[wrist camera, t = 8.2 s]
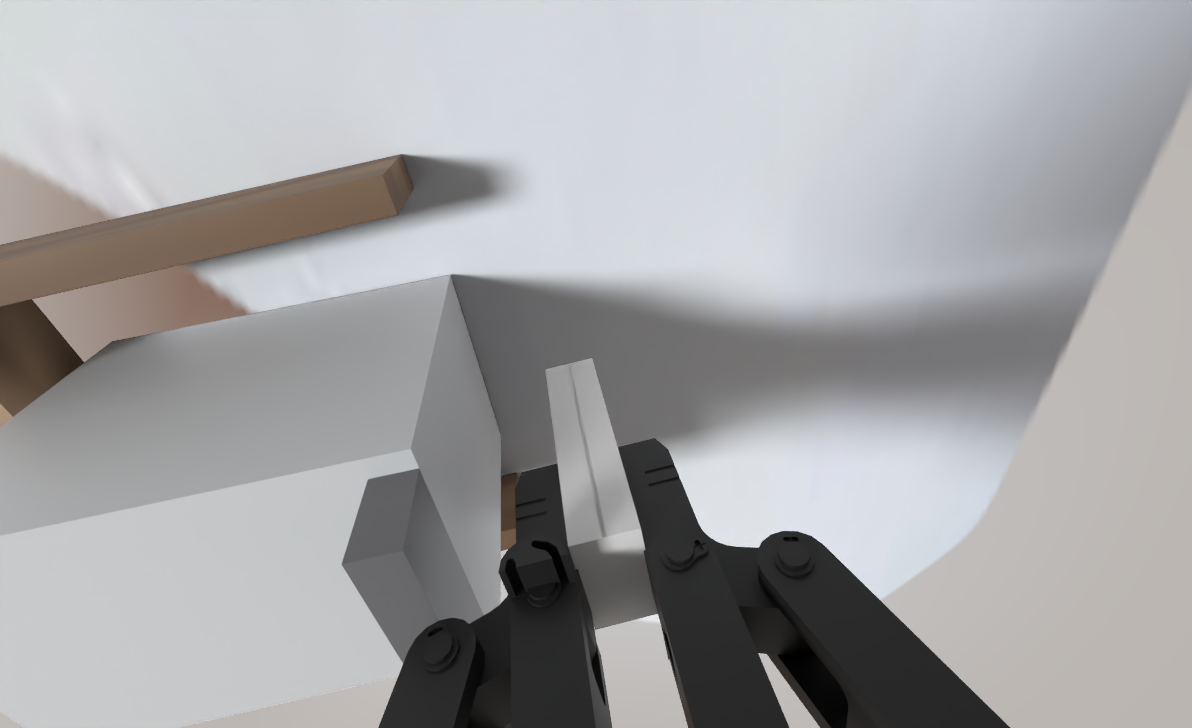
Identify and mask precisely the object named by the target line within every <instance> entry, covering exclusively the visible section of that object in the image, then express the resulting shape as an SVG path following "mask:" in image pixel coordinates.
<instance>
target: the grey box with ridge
mask: <svg viewBox="0 0 1192 728" xmlns="http://www.w3.org/2000/svg"><path fill="white" fill-rule="evenodd" d="M500 556H501V434H500V431H499V428H498V425H497V422H496V418H495V415H494V412H493V409H492V406H491V402H490V399H489V396H488V393H487V390H486V387H485V383H484V380H483V377H482V374H481V371H480V368H479V364H478V361H477V358H476V355H475V352H474V348H473V345H472V342H471V339H470V336H469V333H468V329H467V326H466V323H465V320H464V317H463V314H462V310H461V307H460V304H459V301H458V298H457V294H456V291H455V288H454V285H453V282H452V279H451V275H448V276H442V277H437V278H432V279H427V280H422V281H417V282H412V283H407V284H402V285H397V286H392V287H387V288H381V289H376V290H371V291H366V292H361V293H356V294H351V295H346V296H341V297H336V298H331V299H326V300H321V301H315V302H310V303H305V304H300V305H295V306H290V307H285V308H280V309H275V310H270V311H265V312H260V313H254V314H249V315H245V316H239V317H234V318H229V319H224V320H219V321H214V322H209V323H204V324H199V325H194V326H189V327H183V328H178V329H173V330H168V331H163V332H158V333H153V334H148V335H143V336H138V337H133V338H128V339H122V340H117V341H112V342H111V343H110V344H108V345H107V346H106V347H104V348H103V349H102V350H100V351H99V352H98V353H97V354H95V355H94V356H92V357H91V358H90V359H89V360H87V361H86V362H85V363H83V364H82V365H81V366H79V367H78V368H77V369H75V370H74V371H73V372H71V373H70V374H69V375H67V376H66V377H65V378H64V379H62V380H61V381H60V382H58V383H57V384H56V385H54V386H53V387H52V388H50V389H49V390H48V391H46V392H45V393H44V394H43V395H41V396H40V397H39V398H37V399H36V400H35V401H33V402H32V403H31V404H29V405H28V406H27V407H25V408H24V409H23V410H22V411H20V412H19V413H18V414H16V415H15V416H14V417H12V418H11V419H10V420H8V421H7V422H6V423H4V424H3V425H2V426H1V427H0V712H1V713H2V714H4V715H5V716H7V717H8V718H10V719H11V720H13V721H14V722H16V723H17V724H19V725H20V726H22V727H23V728H179V727H184V726H188V725H192V724H197V723H201V722H205V721H210V720H214V719H218V718H223V717H227V716H231V715H235V714H240V713H244V712H248V711H253V710H257V709H261V708H266V707H270V706H275V705H279V704H283V703H287V702H292V701H296V700H300V699H305V698H308V697H313V696H317V695H322V694H326V693H330V692H335V691H339V690H343V689H347V688H352V687H356V686H361V685H365V684H369V683H373V682H378V681H382V680H386V679H390V678H395V677H398V676H399V673H400V671H401V668H402V666H403V663H404V660H405V658H406V655H407V653H408V651H409V649H410V647H411V645H412V644H413V642H414V640H415V638H416V637H417V636H418V635H419V634H420V633H421V632H422V631H423V630H424V629H425V628H427V627H428V626H430V625H432V624H434V623H435V622H437V621H439V620H443V619H447V618H458V619H463V620H465V621H466V622H467V623H468V624H470V623H471V622H473V621H475V620H477V619H478V618H480V617H482V616H483V615H485V614H487V613H489V612H490V611H492V610H493V609H494V608H496V607H497V606H499V605H500V575H499V573H498V571H499V567H500V562H501V560H500V559H501V557H500Z"/></svg>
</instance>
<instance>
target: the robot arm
mask: <svg viewBox="0 0 1192 728" xmlns="http://www.w3.org/2000/svg"><path fill="white" fill-rule="evenodd" d="M545 371H546V379H547V386H548V394H549V402H550V410H551V418H552V425H553V433H554V441H555V449H556V456H557V464H554V465H550V466H546V467H542V468H538V469H534V470H530V471H526V472H522V474H521V477H520V479H519V481H518V483H517V485H516V487H515V506H516V508H515V517H516V544H514V545H513V546H512V547H511V548H509V549H508V551H507V552H506V554H505V555H504V556H503V558H502V559H501V562H500V567H499V571H498V573H499V575H500V577H501V579H502V581H503V584H504V585H505V588H506V590H507V592H508V596H507V598H506V599H505V600H504V601H503V602H502V603H501V604H500V605H499V606H497V607H496V608H494V609H493V610H492V611H490V612H489V613H487V614H485V615H483V616H482V617H480V618H478V619H477V620H475V621H473V622H471V623H470V624H468V623H467V622H466V621H465V620H463V619H458V618H447V619H443V620H439V621H437V622H435V623H434V624H432V625H430V626H428V627H427V628H425V629H424V630H423V631H422V632H421V633H420V634H419V635H418V636H417V637H416V638H415V640H414V642H413V644H412V645H411V647H410V649H409V651H408V653H407V655H406V658H405V660H404V663H403V666H402V668H401V671H400V673H399V676H398V679H397V681H396V684H395V687H394V689H393V692H392V694H391V697H390V699H389V702H388V705H387V707H386V710H385V712H384V715H383V717H382V720H381V723H380V725H379V728H612V723H611V717H610V711H609V705H608V698H607V691H606V685H605V679H604V673H603V666H602V660H601V655H600V652H599V649H598V646H597V643H596V637H595V630H596V629H600V628H604V627H608V626H611V625H615V624H619V623H623V622H627V621H631V620H635V619H639V618H642V617H646V616H650V615H654V614H658V615H659V619H660V622H661V627H662V631H663V635H664V640H665V645H666V650H667V654H668V659H670V662H671V666H672V670H673V673H674V677H675V680H676V684H677V688H678V691H679V695H680V699H681V703H682V706H683V710H684V713H685V717H686V721H687V724H688V728H789V726H788V723H787V721H786V719H785V717H784V714H783V712H782V710H781V707H780V705H779V702H778V700H777V697H776V695H775V693H774V690H773V688H772V685H771V683H770V681H769V679H768V676H767V674H766V672H765V669H764V666H763V664H762V662H761V659H760V657H759V655H758V653H764V654H767V655H768V656H769V658H770V659H771V660H772V662H773V663H774V664H775V666H776V667H777V669H778V670H779V671H780V673H781V674H782V676H783V677H784V678H785V680H786V681H787V682H788V684H789V685H790V687H791V688H792V689H793V691H794V692H795V693H796V695H797V696H798V697H799V699H800V700H801V702H802V703H803V704H804V706H805V707H806V709H807V710H808V711H809V713H810V714H811V715H812V717H813V718H814V719H815V721H816V722H817V724H818V725H819V726H820V728H1010V727H1009V726H1008V725H1007V724H1006V723H1005V722H1004V721H1003V720H1002V719H1001V718H1000V717H999V716H998V715H997V714H995V712H994V711H992V710H991V709H990V708H989V707H988V706H987V705H986V704H985V703H984V702H983V701H982V700H981V699H980V698H979V697H978V696H977V695H976V694H975V693H974V692H973V691H972V690H971V689H970V688H969V687H968V686H967V685H966V684H965V683H964V682H963V681H962V680H961V679H959V677H958V676H957V675H956V674H955V673H954V672H953V671H952V670H951V669H950V668H949V667H947V666H946V664H944V663H943V662H942V661H941V660H940V659H939V658H938V657H937V656H936V655H935V654H934V653H933V652H932V651H931V650H930V649H929V648H928V647H927V646H926V645H925V644H924V643H923V642H922V641H921V640H920V639H919V638H918V637H917V636H916V635H915V634H914V633H913V632H912V631H911V630H910V629H909V628H907V626H906V625H905V624H904V623H903V622H901V621H900V620H899V618H897V617H896V616H895V615H894V614H893V613H892V612H891V611H890V610H889V609H888V608H887V607H886V606H885V605H884V604H883V603H882V602H881V601H880V600H879V599H878V598H877V597H876V596H875V595H874V594H873V593H872V592H871V591H870V590H869V589H868V588H867V587H866V586H865V585H864V584H863V583H862V582H861V581H860V580H859V579H858V578H857V577H856V576H855V575H854V574H853V573H852V572H851V571H849V570H848V569H847V568H846V567H845V566H844V565H843V564H842V563H841V562H840V561H839V560H838V559H837V558H836V557H835V556H834V555H833V554H832V553H831V552H830V551H829V550H828V549H827V548H826V547H825V546H824V545H823V544H822V543H820V542H819V541H817V540H816V539H815V538H813V537H812V536H809V535H806V534H803V533H800V532H797V531H782V532H779V533H775V534H772V535H770V536H769V537H768V538H766V539H765V540H764V541H763V542H762V543H761V545H760V547H759V548H749V547H734V546H727V545H724V544H721V543H718V542H716V541H715V540H713V539H711V538H710V537H708V536H707V535H706V534H705V533H704V532H703V531H702V529H701V527H700V526H699V524H698V521H697V519H696V517H695V514H694V512H693V509H692V507H691V504H690V502H689V500H688V497H687V495H686V492H685V490H684V487H683V485H682V482H681V480H680V478H679V475H678V473H677V470H676V468H675V466H674V463H673V460H672V458H671V456H670V453H669V451H668V449H667V448H666V447H665V446H663V445H662V444H661V443H660V442H659V441H657V440H656V439H655V438H654V439H650V440H646V441H642V442H638V443H633V444H629V445H625V446H621V447H617V443H616V440H615V436H614V433H613V429H612V426H611V422H610V419H609V415H608V412H607V408H606V404H605V401H604V397H603V394H602V390H601V387H600V383H599V380H598V376H597V373H596V369H595V366H594V362H593V359H592V358H589V359H585V360H581V361H577V362H573V363H569V364H565V365H561V366H557V367H552V368H548V369H545ZM594 627H595V630H594Z"/></svg>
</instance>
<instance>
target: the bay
mask: <svg viewBox="0 0 1192 728" xmlns="http://www.w3.org/2000/svg"><path fill="white" fill-rule="evenodd" d="M412 190H413V186H412V183H411V180H410V178H409V175H408V172H407V169H406V167H405V164H404V161H403V158H402V155H401V154H400V155H396V156H391V157H387V158H383V159H378V160H374V161H369V162H365V163H360V164H356V165H352V166H347V167H343V168H338V169H334V170H330V171H325V172H321V173H316V174H312V175H307V176H303V177H299V178H294V179H290V180H285V181H281V182H276V183H272V184H268V185H263V186H259V187H254V188H250V189H245V190H241V191H237V192H232V193H228V194H223V195H219V196H214V197H210V198H206V199H201V200H197V201H192V202H188V203H184V204H179V205H175V206H170V207H166V208H161V209H157V210H153V211H148V212H144V213H139V214H135V215H130V216H126V217H122V218H117V219H113V220H108V221H104V222H99V223H95V224H91V225H86V226H82V227H77V228H73V229H69V230H64V231H60V232H55V233H51V234H46V235H42V236H38V237H33V238H29V239H24V240H20V241H16V242H11V243H7V244H2V245H0V427H1V426H2V425H3V424H4V423H6V422H7V421H8V420H10V419H11V418H12V417H14V416H15V415H16V414H18V413H19V412H20V411H22V410H23V409H24V408H25V407H27V406H28V405H29V404H31V403H32V402H33V401H35V400H36V399H37V398H39V397H40V396H41V395H43V394H44V393H45V392H46V391H48V390H49V389H50V388H52V387H53V386H54V385H56V384H57V383H58V382H60V381H61V380H62V379H64V378H65V377H66V376H67V375H69V374H70V373H71V372H73V371H74V370H75V369H77V368H78V367H79V366H81V365H82V364H83V363H84V362H83V361H82V359H81V358H80V357H79V356H78V355H77V353H76V352H75V351H74V350H73V349H72V347H71V346H70V345H69V344H68V343H67V341H66V340H65V339H64V338H63V337H62V335H61V334H60V333H59V332H58V330H57V329H56V328H55V327H54V326H53V324H52V323H51V322H50V321H49V320H48V318H47V317H46V316H45V315H44V314H43V312H42V311H41V310H40V309H39V308H38V306H37V305H36V304H35V303H34V302H33V300H32V299H35V298H39V297H43V296H48V295H52V294H56V293H61V292H65V291H69V290H73V289H78V288H82V287H87V286H91V285H95V284H100V283H104V282H109V281H113V280H117V279H122V278H126V277H130V276H135V275H139V274H143V273H148V272H152V271H156V270H161V269H165V268H169V267H173V266H178V265H182V264H187V263H191V262H195V261H200V260H204V259H209V258H213V257H217V256H222V255H226V254H230V253H235V252H239V251H243V250H248V249H252V248H256V247H261V246H265V245H269V244H274V243H278V242H282V241H287V240H291V239H295V238H300V237H304V236H308V235H313V234H317V233H322V232H326V231H330V230H335V229H339V228H343V227H348V226H352V225H356V224H361V223H365V222H369V221H374V220H378V219H382V218H387V217H391V216H395V215H398V213H399V212H400V210H401V208H402V207H403V205H404V203H405V202H406V200H407V198H408V197H409V195H410V193H411V192H412ZM518 481H519V479H518V476H517V473H514V474H510V475H506V476H502V477H501V551H502V550H506V549H509V548H511V547H512V546H513V545H514V544H516V517H515V508H516V506H515V487H516V485H517V483H518Z"/></svg>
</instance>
